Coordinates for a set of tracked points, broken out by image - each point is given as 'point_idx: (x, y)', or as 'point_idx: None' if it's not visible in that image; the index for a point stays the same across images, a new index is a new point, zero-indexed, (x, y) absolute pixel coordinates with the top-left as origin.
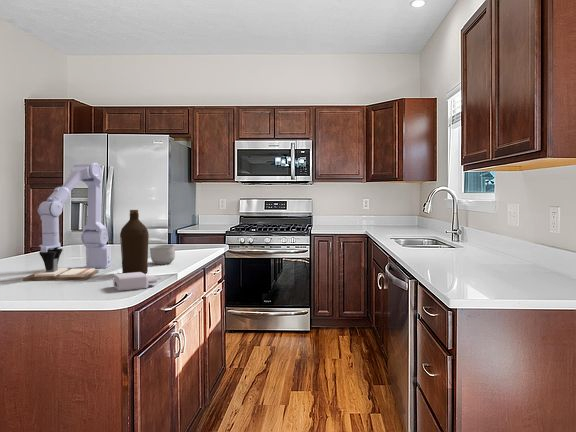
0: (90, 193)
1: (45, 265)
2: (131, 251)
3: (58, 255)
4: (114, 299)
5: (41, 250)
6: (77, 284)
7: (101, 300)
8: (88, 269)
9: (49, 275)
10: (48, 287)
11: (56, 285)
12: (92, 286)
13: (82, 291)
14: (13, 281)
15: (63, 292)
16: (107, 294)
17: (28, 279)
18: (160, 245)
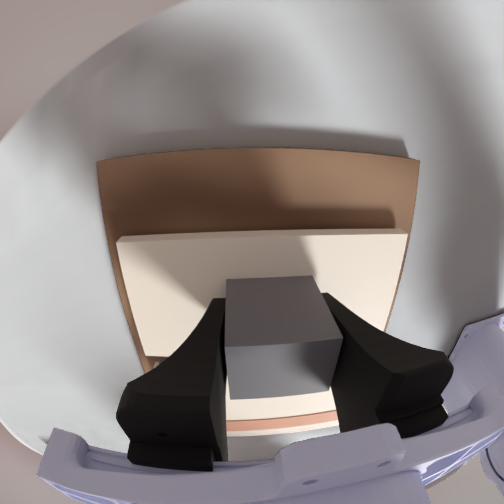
0: None
1: (202, 321)
2: None
3: (338, 415)
4: (22, 439)
5: (51, 446)
6: (90, 410)
7: (8, 427)
8: (310, 422)
9: (140, 327)
10: (20, 346)
11: (52, 363)
12: (82, 433)
13: (32, 415)
14: (91, 106)
15: (5, 385)
16: (38, 440)
17: (105, 199)
18: (463, 464)
